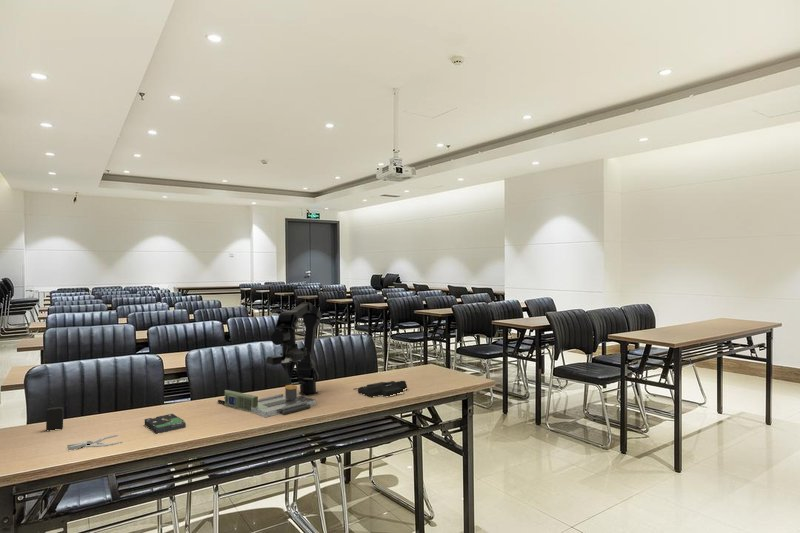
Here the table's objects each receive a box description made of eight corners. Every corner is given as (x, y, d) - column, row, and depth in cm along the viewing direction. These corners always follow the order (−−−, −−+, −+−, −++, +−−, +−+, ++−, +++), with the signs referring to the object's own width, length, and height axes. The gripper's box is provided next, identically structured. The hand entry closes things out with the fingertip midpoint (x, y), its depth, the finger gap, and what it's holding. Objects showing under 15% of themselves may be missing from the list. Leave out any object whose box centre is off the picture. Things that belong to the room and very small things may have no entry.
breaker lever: (291, 397, 211) (291, 384, 211) (297, 398, 208) (296, 386, 208) (285, 398, 209) (285, 385, 209) (290, 400, 206) (290, 387, 206)
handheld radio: (252, 414, 197) (215, 404, 211) (259, 412, 200) (221, 403, 214) (252, 397, 198) (215, 389, 212) (259, 395, 200) (222, 388, 214)
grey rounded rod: (281, 399, 218) (281, 392, 218) (286, 400, 215) (286, 394, 215) (255, 405, 208) (255, 398, 208) (260, 406, 206) (259, 400, 206)
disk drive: (143, 426, 184) (156, 435, 173) (143, 419, 184) (156, 427, 173) (172, 420, 191) (186, 428, 180) (172, 413, 191) (186, 420, 180)
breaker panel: (294, 398, 219) (294, 393, 219) (315, 404, 208) (315, 399, 208) (245, 409, 202) (245, 404, 202) (265, 417, 191) (265, 411, 191)
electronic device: (377, 381, 251) (376, 372, 251) (413, 393, 227) (413, 382, 227) (342, 388, 239) (341, 378, 239) (376, 400, 215) (376, 389, 215)
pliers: (122, 439, 164) (69, 450, 155) (122, 443, 164) (69, 455, 155) (117, 432, 172) (66, 441, 163) (117, 436, 172) (66, 446, 163)
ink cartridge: (63, 427, 182) (63, 406, 182) (62, 429, 180) (62, 407, 180) (47, 429, 179) (47, 408, 180) (46, 431, 177) (46, 409, 178)
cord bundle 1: (304, 406, 205) (304, 400, 205) (310, 408, 202) (310, 401, 202) (277, 413, 196) (277, 406, 196) (283, 415, 193) (283, 408, 193)
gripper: (279, 346, 196) (280, 384, 196) (317, 340, 209) (318, 376, 209) (265, 343, 204) (266, 380, 204) (303, 337, 217) (303, 372, 217)
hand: (289, 377), depth 208 cm, fingers closed
